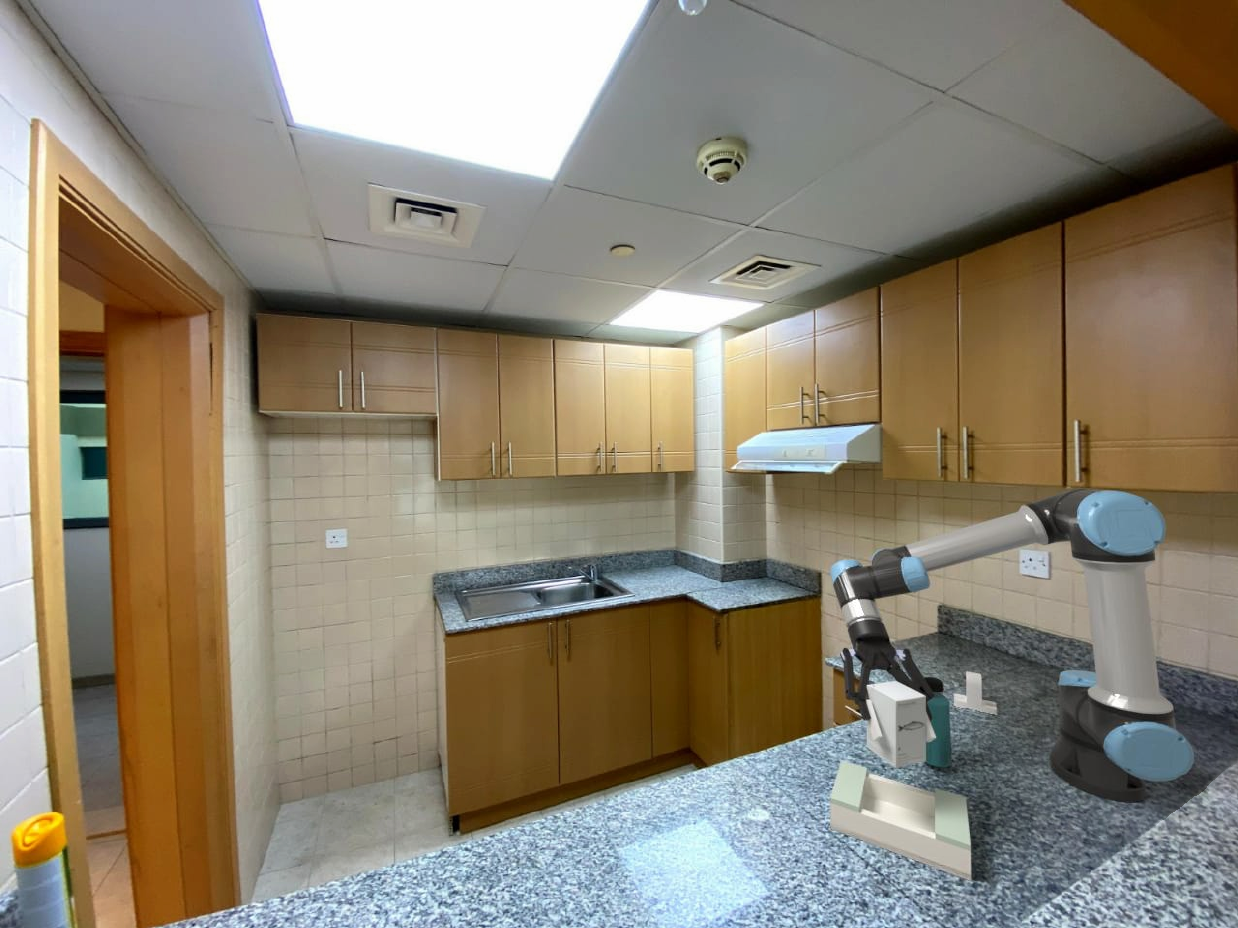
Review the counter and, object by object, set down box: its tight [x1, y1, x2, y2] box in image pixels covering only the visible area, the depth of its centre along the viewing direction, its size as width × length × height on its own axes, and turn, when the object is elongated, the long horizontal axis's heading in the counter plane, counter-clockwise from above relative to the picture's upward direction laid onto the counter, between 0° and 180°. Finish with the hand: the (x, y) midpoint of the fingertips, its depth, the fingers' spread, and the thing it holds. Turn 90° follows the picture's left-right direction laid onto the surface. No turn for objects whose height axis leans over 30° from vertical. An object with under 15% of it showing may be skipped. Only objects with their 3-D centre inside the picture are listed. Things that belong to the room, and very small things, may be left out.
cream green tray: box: [829, 760, 972, 882], centre depth 93 cm, size 22×14×6 cm, turn 57°
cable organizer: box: [953, 670, 998, 716], centre depth 139 cm, size 5×10×10 cm, turn 56°
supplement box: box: [866, 680, 927, 769], centre depth 94 cm, size 7×7×13 cm
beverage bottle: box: [924, 676, 953, 768], centre depth 113 cm, size 6×7×20 cm
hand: (904, 739), depth 91 cm, fingers closed on supplement box, 9 cm apart
